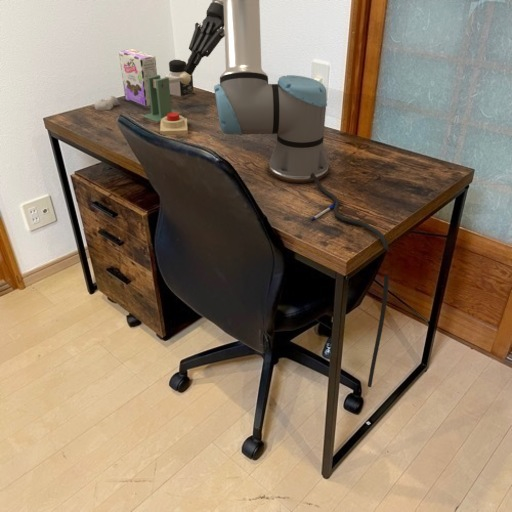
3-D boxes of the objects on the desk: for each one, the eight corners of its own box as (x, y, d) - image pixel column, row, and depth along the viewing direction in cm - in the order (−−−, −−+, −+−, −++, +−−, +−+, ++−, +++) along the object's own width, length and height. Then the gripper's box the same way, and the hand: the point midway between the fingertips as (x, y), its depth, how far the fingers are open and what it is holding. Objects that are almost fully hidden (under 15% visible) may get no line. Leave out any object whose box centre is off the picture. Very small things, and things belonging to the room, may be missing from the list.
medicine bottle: (181, 99, 186) (178, 64, 179) (165, 96, 189) (162, 61, 182) (194, 94, 191) (191, 59, 184) (178, 91, 194) (176, 57, 187)
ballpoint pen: (336, 203, 123) (337, 199, 123) (340, 204, 123) (340, 200, 122) (311, 220, 116) (311, 216, 116) (314, 221, 116) (314, 218, 115)
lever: (185, 82, 174) (185, 70, 172) (193, 84, 172) (192, 72, 170) (151, 89, 165) (150, 77, 163) (159, 91, 163) (158, 79, 161)
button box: (188, 137, 156) (187, 124, 154) (160, 138, 156) (159, 125, 153) (187, 125, 165) (186, 112, 162) (161, 126, 164) (160, 113, 162)
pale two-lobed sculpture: (100, 118, 173) (92, 109, 175) (121, 112, 178) (113, 104, 180) (100, 106, 170) (91, 98, 172) (121, 100, 174) (113, 92, 176)
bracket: (166, 111, 175) (162, 72, 168) (181, 116, 171) (178, 76, 164) (142, 119, 169) (137, 78, 162) (157, 124, 165) (152, 83, 158)
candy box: (124, 99, 185) (117, 50, 176) (139, 96, 189) (133, 48, 179) (146, 109, 177) (140, 58, 168) (160, 105, 180) (155, 55, 171)
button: (179, 121, 157) (179, 116, 156) (167, 122, 156) (166, 116, 155) (179, 117, 160) (179, 112, 159) (167, 118, 159) (166, 112, 158)
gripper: (242, 18, 171) (208, 83, 170) (213, 13, 178) (181, 75, 178) (230, 3, 164) (194, 70, 164) (201, -2, 172) (167, 62, 171)
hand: (187, 72), depth 171 cm, fingers closed
